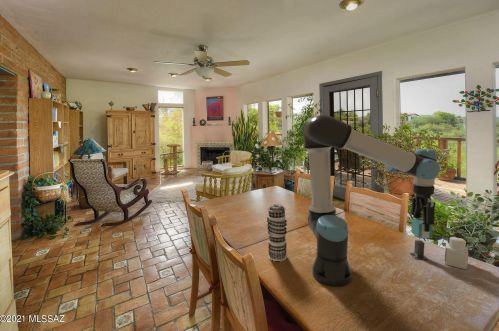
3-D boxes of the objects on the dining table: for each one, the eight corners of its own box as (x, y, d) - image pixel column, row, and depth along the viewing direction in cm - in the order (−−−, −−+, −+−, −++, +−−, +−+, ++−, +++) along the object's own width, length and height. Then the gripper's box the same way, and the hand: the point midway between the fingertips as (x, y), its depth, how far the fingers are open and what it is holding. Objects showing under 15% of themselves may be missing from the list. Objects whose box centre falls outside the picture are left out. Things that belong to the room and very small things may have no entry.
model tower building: (263, 257, 114) (262, 206, 111) (275, 250, 121) (274, 201, 118) (279, 264, 108) (278, 210, 105) (291, 256, 115) (290, 205, 111)
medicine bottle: (444, 257, 109) (447, 232, 108) (466, 262, 105) (468, 236, 103) (444, 264, 104) (446, 238, 102) (466, 270, 99) (469, 242, 98)
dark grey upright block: (415, 259, 109) (416, 244, 108) (409, 253, 113) (410, 239, 112) (427, 259, 108) (429, 244, 107) (421, 253, 113) (422, 239, 112)
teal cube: (418, 238, 107) (418, 223, 106) (411, 232, 112) (412, 219, 111) (432, 238, 106) (432, 223, 105) (424, 232, 112) (425, 218, 111)
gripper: (447, 189, 96) (443, 244, 100) (420, 179, 115) (418, 226, 118) (427, 189, 97) (424, 244, 101) (403, 180, 115) (401, 226, 119)
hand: (420, 234), depth 109 cm, fingers closed on teal cube, 6 cm apart
